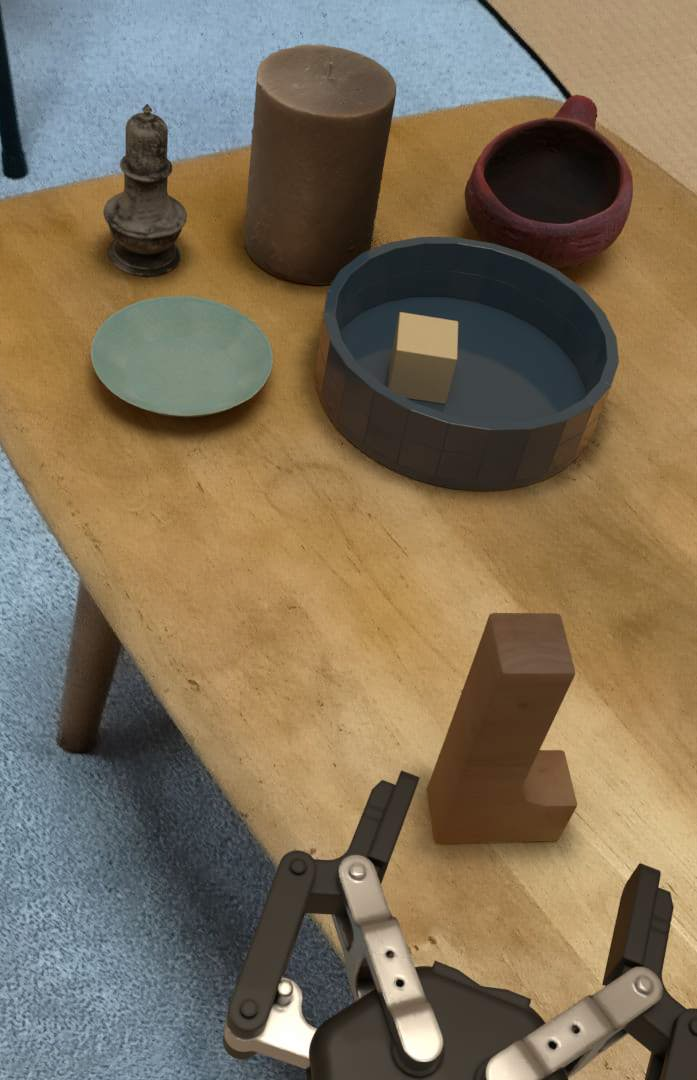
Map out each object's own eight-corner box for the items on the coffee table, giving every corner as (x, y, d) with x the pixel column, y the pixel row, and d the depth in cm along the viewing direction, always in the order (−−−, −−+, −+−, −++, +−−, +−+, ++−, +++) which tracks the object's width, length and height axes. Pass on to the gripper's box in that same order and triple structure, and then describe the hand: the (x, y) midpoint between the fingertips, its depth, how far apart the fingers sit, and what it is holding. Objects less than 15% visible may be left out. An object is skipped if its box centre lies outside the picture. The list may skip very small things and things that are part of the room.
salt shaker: (132, 288, 88) (133, 136, 79) (88, 244, 91) (84, 93, 82) (201, 264, 91) (209, 115, 82) (156, 222, 93) (159, 73, 85)
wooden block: (434, 845, 62) (501, 673, 51) (425, 787, 64) (488, 610, 53) (559, 842, 63) (652, 673, 52) (546, 785, 65) (633, 611, 54)
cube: (446, 366, 86) (458, 320, 83) (445, 404, 83) (457, 359, 80) (390, 357, 86) (399, 311, 83) (386, 395, 83) (396, 349, 80)
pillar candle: (388, 276, 93) (425, 92, 82) (266, 294, 90) (287, 104, 78) (340, 202, 99) (368, 20, 87) (223, 216, 95) (237, 29, 84)
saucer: (136, 460, 77) (137, 434, 75) (63, 345, 83) (61, 318, 81) (301, 411, 82) (305, 385, 80) (220, 305, 88) (222, 279, 86)
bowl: (633, 295, 96) (666, 206, 90) (474, 294, 93) (498, 202, 87) (574, 177, 106) (601, 91, 100) (430, 173, 103) (448, 84, 97)
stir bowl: (618, 351, 91) (642, 290, 87) (560, 530, 78) (584, 469, 74) (368, 269, 93) (380, 206, 89) (271, 429, 80) (279, 365, 76)
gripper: (691, 1452, 28) (766, 854, 39) (121, 1200, 30) (344, 694, 41) (595, 1484, 34) (685, 952, 44) (120, 1270, 35) (316, 808, 46)
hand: (522, 830), depth 43 cm, fingers open, 8 cm apart
